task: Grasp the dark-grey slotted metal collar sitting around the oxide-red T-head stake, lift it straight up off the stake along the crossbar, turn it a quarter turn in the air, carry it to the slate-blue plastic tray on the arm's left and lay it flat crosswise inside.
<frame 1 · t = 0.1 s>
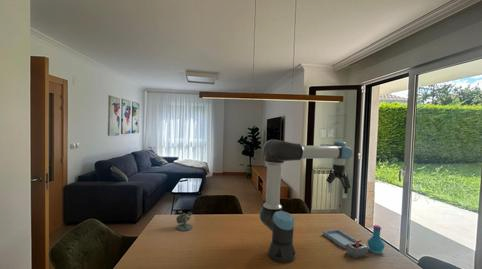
hand: (337, 195, 165), 28 cm above the table, fingers open, 13 cm apart
stake: (356, 254, 142), on the table
figurine: (184, 228, 167), on the table
tray: (340, 240, 159), on the table
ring: (356, 254, 142), on the table
perfume bottle: (375, 250, 147), on the table
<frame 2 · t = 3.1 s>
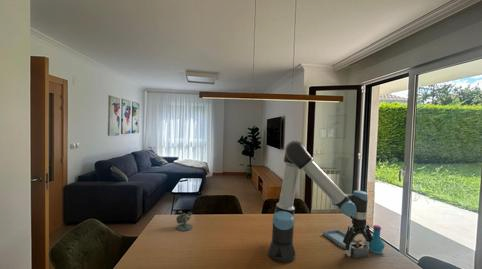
hand: (357, 253, 142), 1 cm above the table, fingers open, 13 cm apart
nothing on the table moved.
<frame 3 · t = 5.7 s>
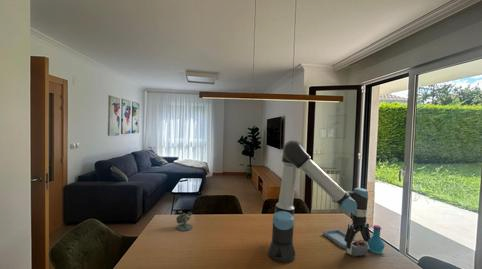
hand: (356, 252, 142), 1 cm above the table, fingers closed on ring, 10 cm apart
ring: (356, 252, 142), point 1 cm above the table, touching gripper
everything else where it was.
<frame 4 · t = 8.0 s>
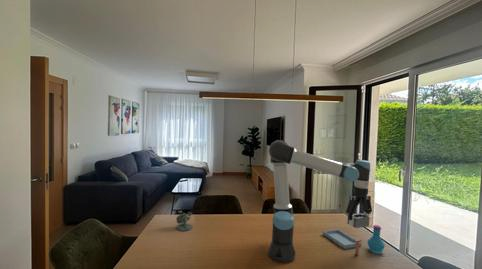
hand: (358, 224, 141), 18 cm above the table, fingers closed on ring, 10 cm apart
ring: (357, 225, 141), point 18 cm above the table, touching gripper
everything else where it was.
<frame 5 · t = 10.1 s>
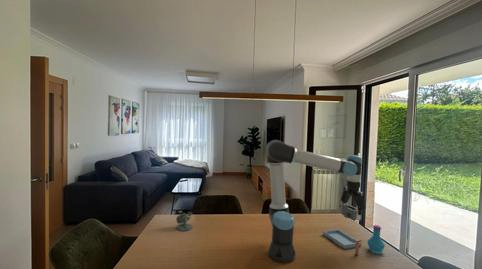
hand: (351, 216, 149), 20 cm above the table, fingers closed on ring, 10 cm apart
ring: (351, 216, 149), point 19 cm above the table, touching gripper
everything else where it was.
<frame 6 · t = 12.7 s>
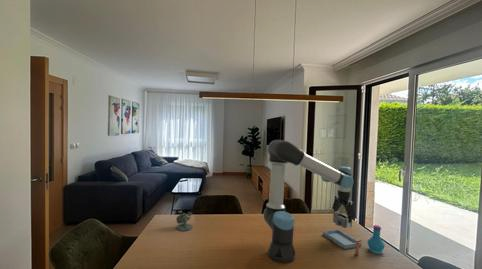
hand: (342, 223, 159), 11 cm above the table, fingers closed on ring, 10 cm apart
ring: (342, 224, 159), point 11 cm above the table, touching gripper
everything else where it was.
when the fingers open (1 cm above the table, at t = 14.7 s): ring stays where it is, resting on tray.
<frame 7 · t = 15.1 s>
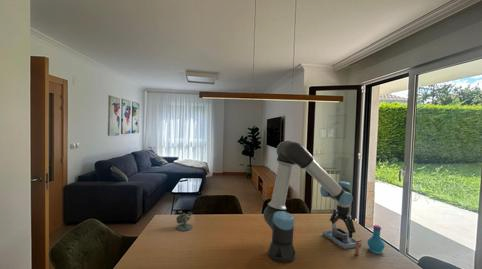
hand: (341, 237, 159), 2 cm above the table, fingers open, 13 cm apart
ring: (340, 239, 159), point 1 cm above the table, touching tray
everything else where it was.
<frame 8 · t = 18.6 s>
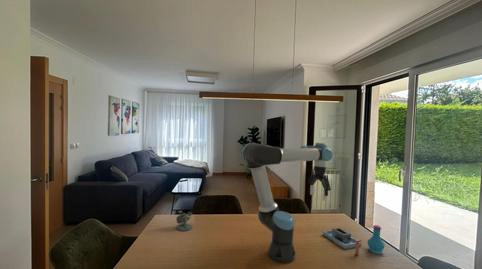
hand: (318, 197, 162), 27 cm above the table, fingers open, 13 cm apart
nothing on the table moved.
at the end: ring inside the target area on the tray (0.1 cm from its centre), point 0.6 cm above the tray's base; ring tilted 0°; the gripper is holding nothing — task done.
